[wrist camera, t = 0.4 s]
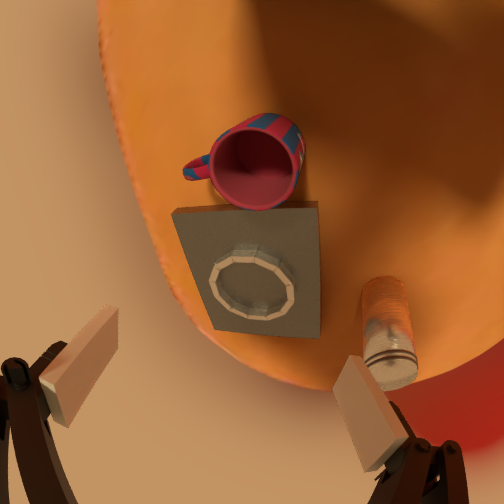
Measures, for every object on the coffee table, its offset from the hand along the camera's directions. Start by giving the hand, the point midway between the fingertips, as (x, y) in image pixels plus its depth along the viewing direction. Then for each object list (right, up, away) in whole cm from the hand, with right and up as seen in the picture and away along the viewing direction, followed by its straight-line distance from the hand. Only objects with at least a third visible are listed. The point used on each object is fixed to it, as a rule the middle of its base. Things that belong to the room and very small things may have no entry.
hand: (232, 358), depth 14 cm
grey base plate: (+2, +3, +20) cm, 21 cm away
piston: (+17, +1, +17) cm, 24 cm away
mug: (+1, +16, +11) cm, 19 cm away
